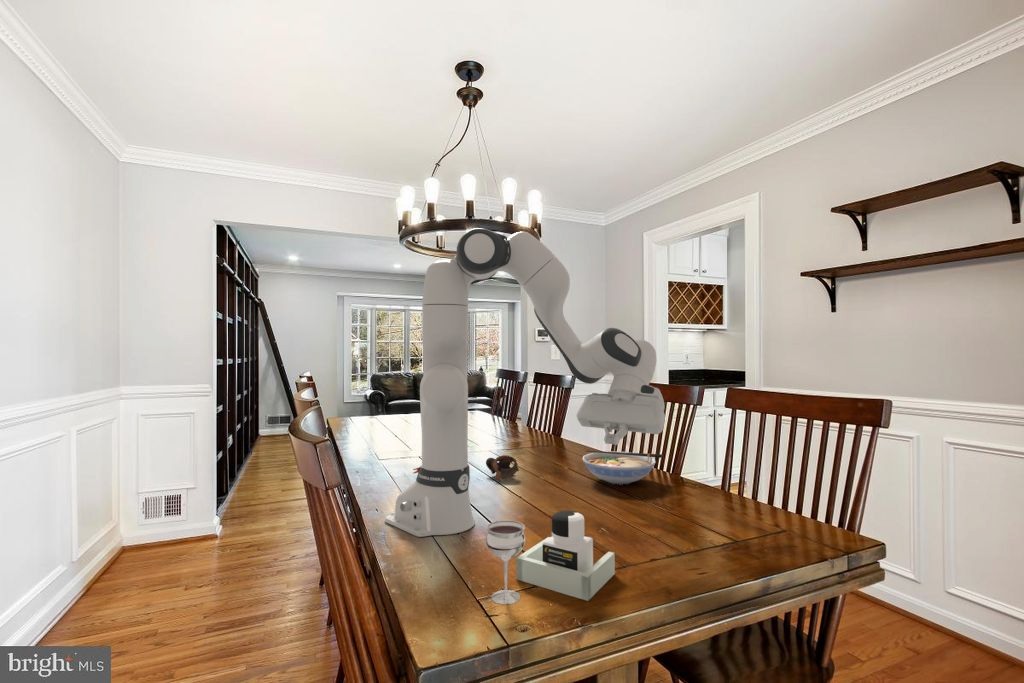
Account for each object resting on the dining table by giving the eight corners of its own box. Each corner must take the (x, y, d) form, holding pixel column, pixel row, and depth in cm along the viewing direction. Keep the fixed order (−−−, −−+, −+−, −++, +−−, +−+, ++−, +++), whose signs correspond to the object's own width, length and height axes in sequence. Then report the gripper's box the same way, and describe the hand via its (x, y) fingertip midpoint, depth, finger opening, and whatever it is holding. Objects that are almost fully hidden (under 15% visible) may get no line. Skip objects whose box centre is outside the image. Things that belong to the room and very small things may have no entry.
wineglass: (517, 610, 82) (517, 536, 82) (479, 602, 84) (479, 531, 84) (531, 591, 88) (530, 523, 88) (495, 584, 90) (495, 518, 91)
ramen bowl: (570, 487, 153) (570, 460, 153) (588, 470, 174) (588, 446, 174) (654, 496, 143) (654, 468, 143) (663, 477, 164) (663, 452, 164)
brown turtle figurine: (522, 476, 168) (524, 457, 164) (510, 495, 160) (511, 476, 156) (491, 464, 172) (491, 445, 168) (477, 482, 165) (477, 463, 160)
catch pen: (516, 579, 93) (516, 557, 93) (548, 556, 103) (548, 536, 103) (587, 601, 85) (587, 577, 85) (614, 574, 95) (614, 552, 95)
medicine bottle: (541, 581, 92) (541, 515, 92) (559, 566, 98) (559, 505, 98) (577, 591, 88) (577, 523, 88) (593, 575, 94) (593, 511, 94)
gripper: (583, 384, 124) (564, 429, 116) (666, 389, 113) (652, 439, 105) (591, 401, 128) (573, 445, 120) (671, 407, 116) (658, 456, 108)
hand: (610, 442), depth 112 cm, fingers closed
